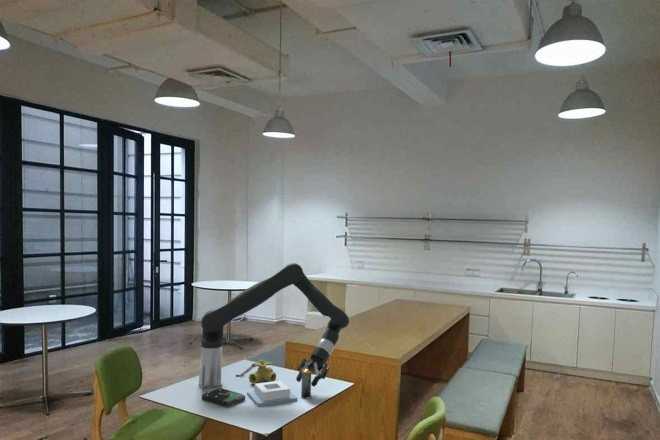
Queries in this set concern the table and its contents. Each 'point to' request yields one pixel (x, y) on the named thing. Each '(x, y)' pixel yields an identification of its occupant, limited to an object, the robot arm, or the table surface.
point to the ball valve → (262, 373)
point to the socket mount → (271, 393)
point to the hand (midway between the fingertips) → (305, 383)
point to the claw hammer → (245, 371)
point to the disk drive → (223, 397)
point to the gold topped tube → (306, 383)
